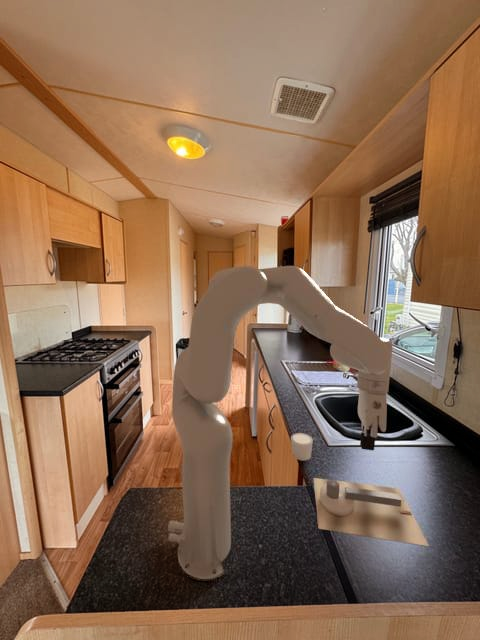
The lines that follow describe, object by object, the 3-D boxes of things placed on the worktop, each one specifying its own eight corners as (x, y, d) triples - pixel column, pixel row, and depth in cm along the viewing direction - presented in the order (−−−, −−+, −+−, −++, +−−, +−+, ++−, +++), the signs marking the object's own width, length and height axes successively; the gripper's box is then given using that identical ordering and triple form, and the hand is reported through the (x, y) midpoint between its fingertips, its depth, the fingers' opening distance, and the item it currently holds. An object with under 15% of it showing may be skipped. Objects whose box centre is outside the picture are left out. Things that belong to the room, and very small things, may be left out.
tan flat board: (318, 534, 60) (318, 527, 60) (313, 482, 75) (313, 477, 75) (428, 552, 56) (429, 545, 55) (399, 493, 71) (399, 487, 71)
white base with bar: (321, 512, 63) (321, 494, 63) (318, 487, 71) (319, 471, 70) (405, 526, 60) (406, 507, 59) (392, 498, 67) (394, 481, 67)
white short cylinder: (287, 462, 84) (287, 441, 83) (293, 450, 90) (294, 430, 89) (309, 468, 81) (310, 447, 80) (314, 455, 87) (315, 435, 86)
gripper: (398, 395, 63) (391, 467, 66) (379, 376, 78) (373, 435, 80) (364, 392, 65) (358, 463, 67) (351, 373, 79) (347, 432, 82)
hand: (366, 447), depth 74 cm, fingers closed
